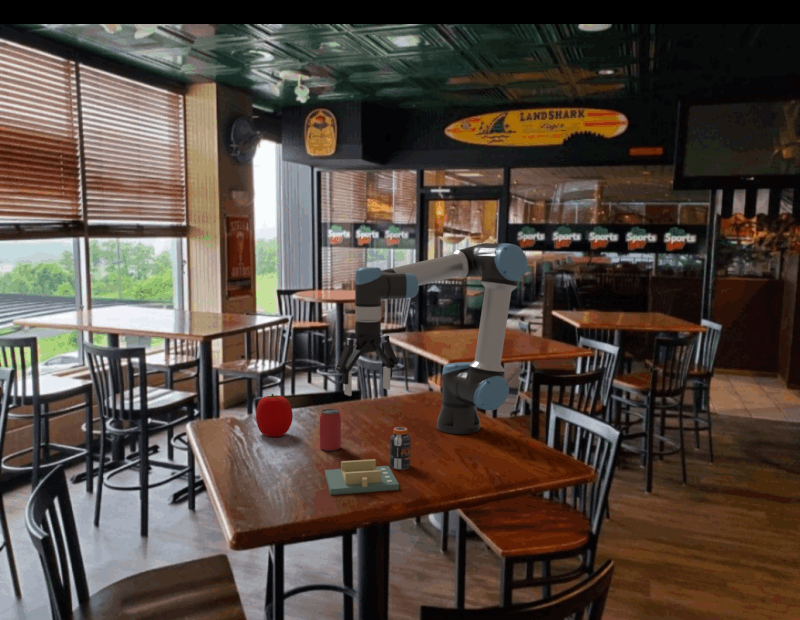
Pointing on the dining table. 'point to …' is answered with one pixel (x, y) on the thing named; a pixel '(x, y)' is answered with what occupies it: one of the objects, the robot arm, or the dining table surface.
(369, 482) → the board
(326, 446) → the beer can
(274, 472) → the dining table surface
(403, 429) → the pill bottle
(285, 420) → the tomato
